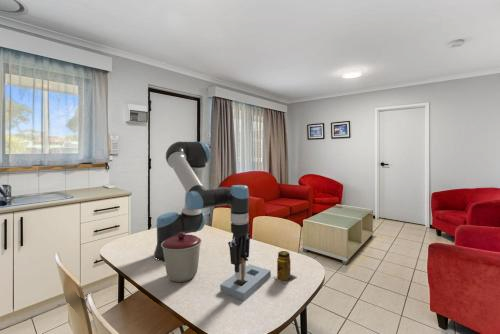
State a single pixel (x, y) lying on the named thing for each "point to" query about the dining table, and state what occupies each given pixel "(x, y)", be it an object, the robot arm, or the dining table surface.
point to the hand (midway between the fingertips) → (240, 277)
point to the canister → (181, 256)
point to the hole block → (246, 282)
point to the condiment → (284, 267)
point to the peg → (241, 282)
